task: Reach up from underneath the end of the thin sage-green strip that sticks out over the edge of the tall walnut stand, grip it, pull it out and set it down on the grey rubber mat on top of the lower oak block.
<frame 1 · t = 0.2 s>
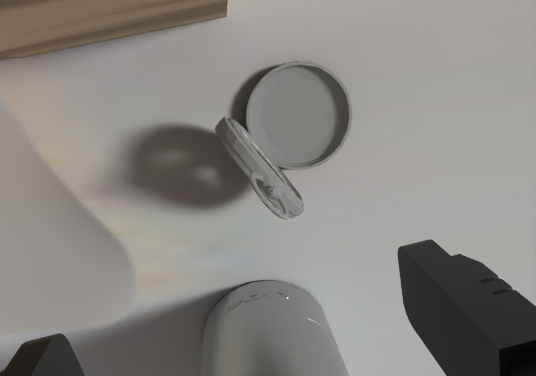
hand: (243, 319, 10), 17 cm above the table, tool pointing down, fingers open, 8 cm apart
pocket watch: (280, 125, 26), on the table
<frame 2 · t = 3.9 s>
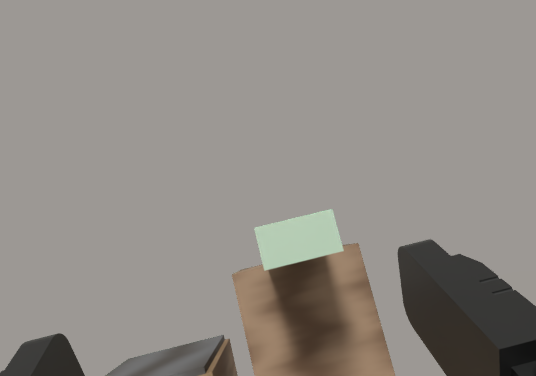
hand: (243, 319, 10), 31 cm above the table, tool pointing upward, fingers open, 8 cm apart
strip: (293, 258, 34), point 32 cm above the table, touching walnut stand
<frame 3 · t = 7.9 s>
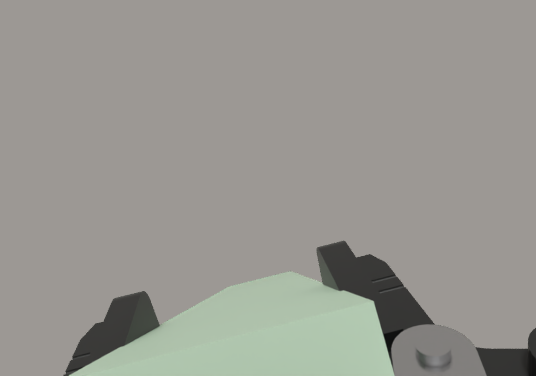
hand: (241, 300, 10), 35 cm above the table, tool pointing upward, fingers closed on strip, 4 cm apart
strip: (266, 346, 17), point 32 cm above the table, touching gripper, walnut stand
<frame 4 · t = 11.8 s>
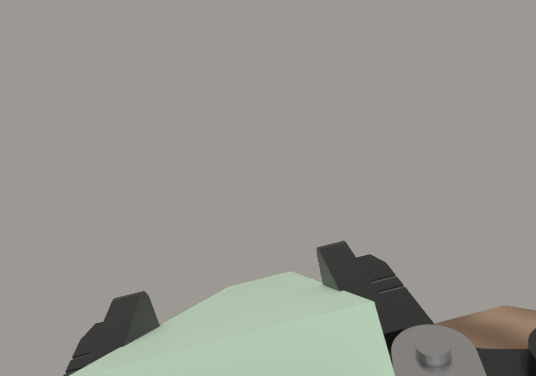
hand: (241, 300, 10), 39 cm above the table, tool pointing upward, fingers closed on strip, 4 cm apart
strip: (266, 346, 17), point 36 cm above the table, touching gripper
when the fingers open (29 cm above the table, at t = 15.6 s): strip stays where it is, resting on oak block.
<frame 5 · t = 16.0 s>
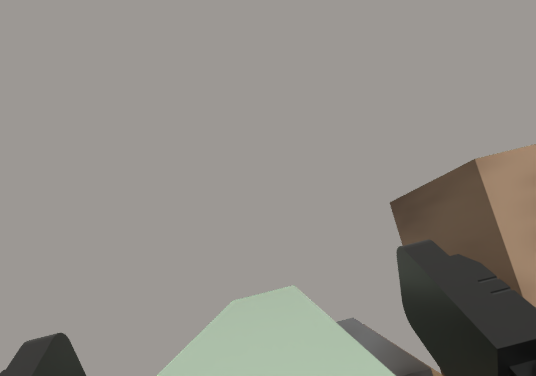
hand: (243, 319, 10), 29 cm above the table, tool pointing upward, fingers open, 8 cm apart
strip: (272, 371, 17), point 26 cm above the table, touching oak block
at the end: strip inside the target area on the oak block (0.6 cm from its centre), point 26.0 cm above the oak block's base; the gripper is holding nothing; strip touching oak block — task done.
